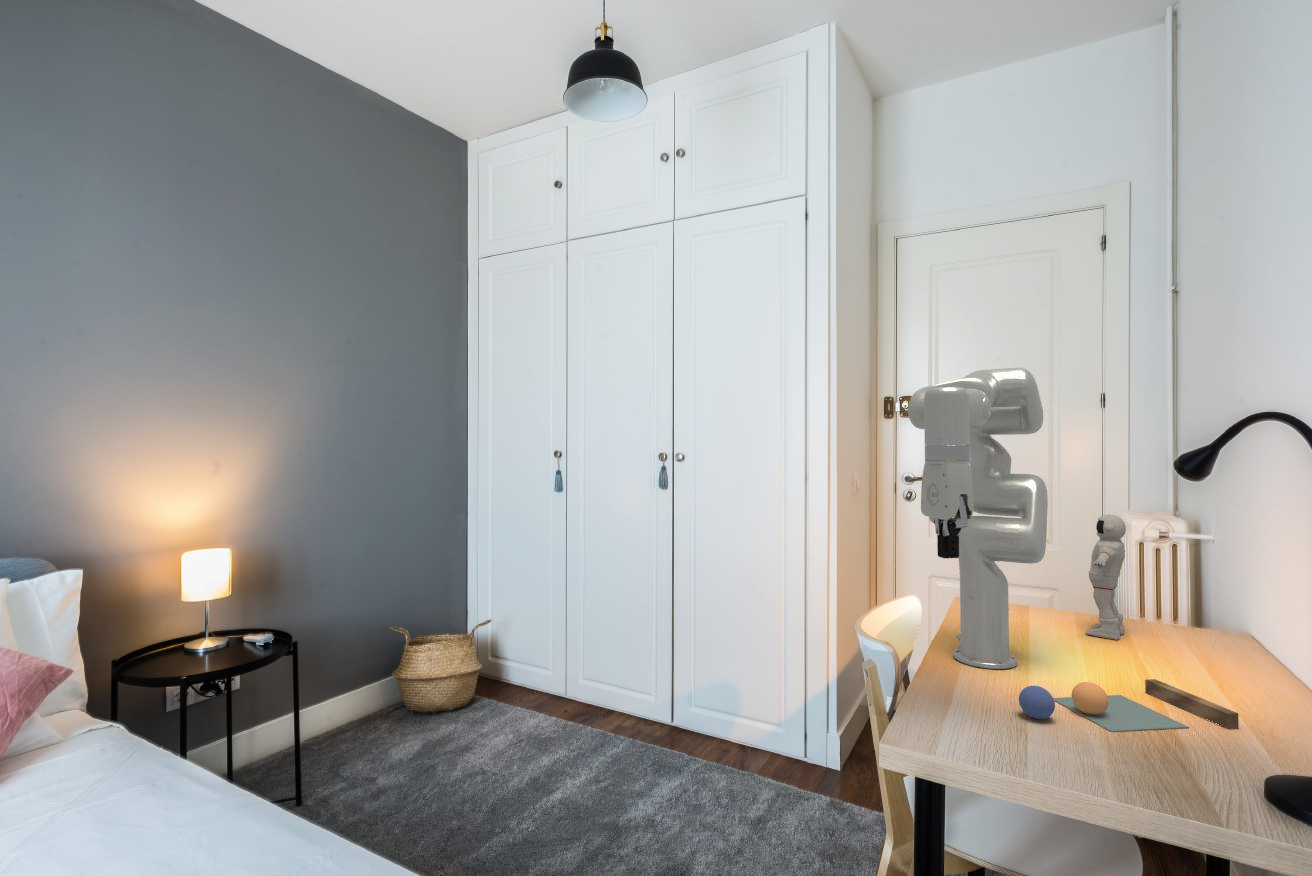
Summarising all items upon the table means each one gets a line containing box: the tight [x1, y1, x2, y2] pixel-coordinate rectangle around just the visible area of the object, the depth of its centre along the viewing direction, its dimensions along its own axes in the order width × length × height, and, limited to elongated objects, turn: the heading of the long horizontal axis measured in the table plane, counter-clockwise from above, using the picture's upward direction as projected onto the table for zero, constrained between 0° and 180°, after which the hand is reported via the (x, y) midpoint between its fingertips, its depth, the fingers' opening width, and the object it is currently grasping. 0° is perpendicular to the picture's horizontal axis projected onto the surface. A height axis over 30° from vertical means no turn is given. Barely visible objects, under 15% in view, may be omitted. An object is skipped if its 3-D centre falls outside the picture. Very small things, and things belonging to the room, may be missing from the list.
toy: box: [1085, 514, 1127, 641], centre depth 161 cm, size 29×8×30 cm, turn 136°
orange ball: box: [1071, 681, 1109, 715], centre depth 113 cm, size 5×5×5 cm
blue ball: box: [1018, 685, 1056, 720], centre depth 112 cm, size 5×5×5 cm
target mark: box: [1053, 694, 1190, 733], centre depth 114 cm, size 14×14×1 cm
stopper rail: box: [1144, 678, 1240, 730], centre depth 115 cm, size 16×2×2 cm, turn 6°
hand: (948, 557), depth 116 cm, fingers closed
